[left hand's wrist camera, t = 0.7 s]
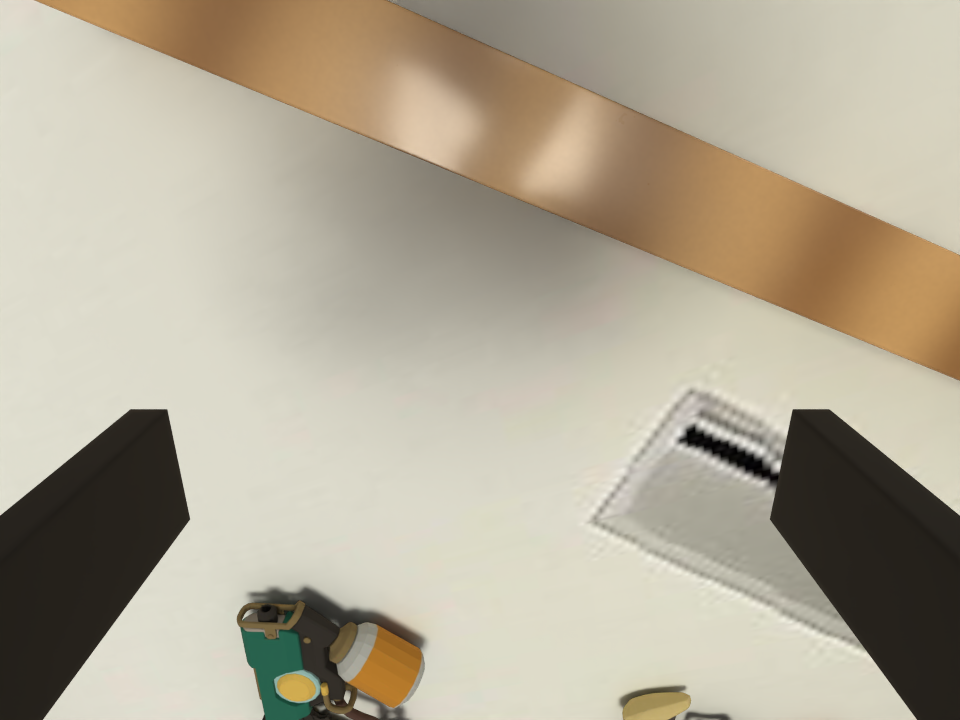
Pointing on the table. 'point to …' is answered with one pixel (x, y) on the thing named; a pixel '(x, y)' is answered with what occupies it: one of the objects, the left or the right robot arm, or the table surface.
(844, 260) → the bar
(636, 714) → the toy gun
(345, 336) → the table surface
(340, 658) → the spray gun
